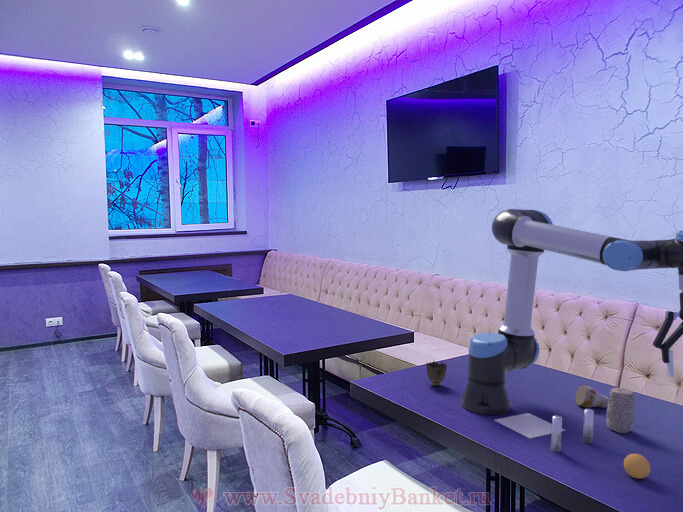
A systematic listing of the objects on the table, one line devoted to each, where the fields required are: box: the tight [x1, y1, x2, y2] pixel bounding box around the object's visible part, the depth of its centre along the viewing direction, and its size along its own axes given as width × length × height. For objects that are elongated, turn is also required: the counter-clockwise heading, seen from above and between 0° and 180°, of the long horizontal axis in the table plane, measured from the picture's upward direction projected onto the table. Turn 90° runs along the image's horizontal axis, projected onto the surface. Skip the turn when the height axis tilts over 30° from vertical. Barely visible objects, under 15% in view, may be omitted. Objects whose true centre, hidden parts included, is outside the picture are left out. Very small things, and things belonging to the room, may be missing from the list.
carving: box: [605, 387, 636, 434], centre depth 146 cm, size 6×8×12 cm
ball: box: [623, 453, 651, 479], centre depth 119 cm, size 6×6×6 cm
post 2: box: [582, 408, 595, 445], centre depth 137 cm, size 2×2×9 cm
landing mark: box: [494, 412, 566, 440], centre depth 148 cm, size 14×14×1 cm
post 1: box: [550, 415, 563, 453], centre depth 132 cm, size 2×2×9 cm
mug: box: [575, 384, 609, 409], centre depth 165 cm, size 8×10×10 cm
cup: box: [425, 360, 448, 387], centre depth 183 cm, size 8×7×8 cm
